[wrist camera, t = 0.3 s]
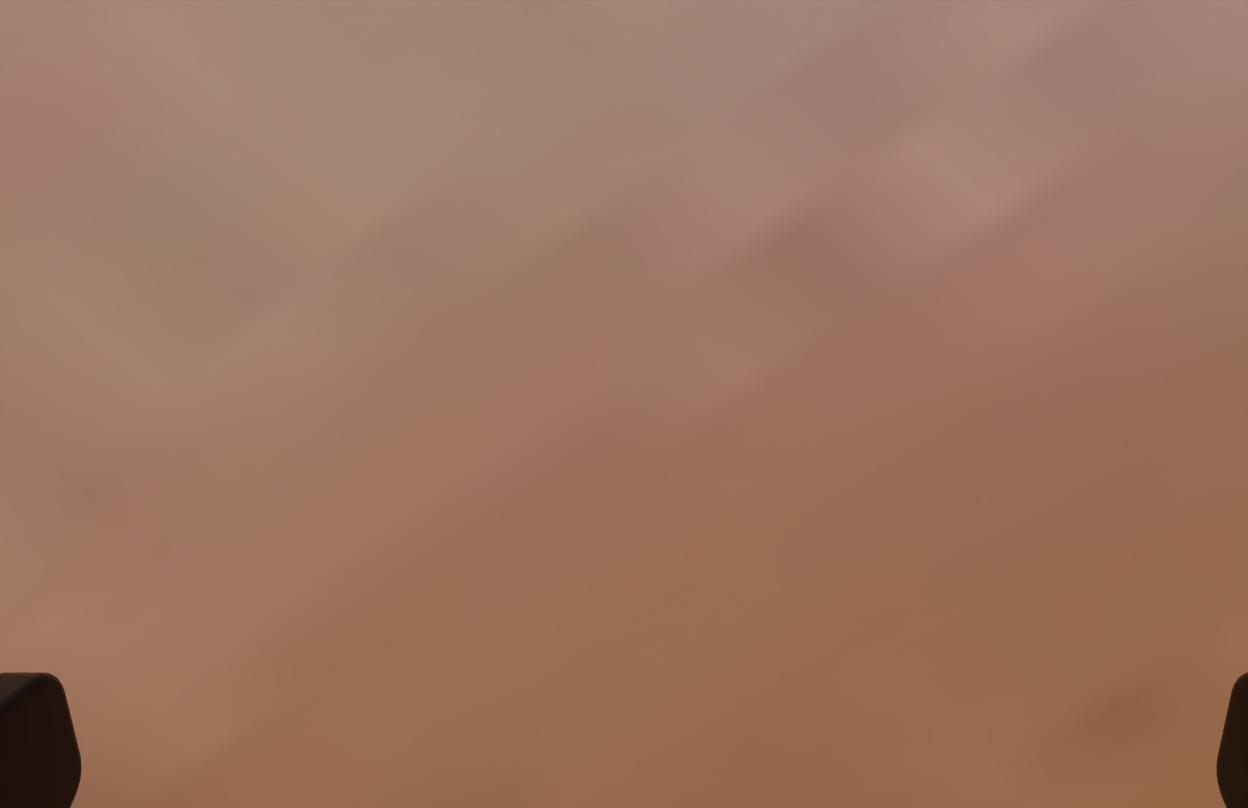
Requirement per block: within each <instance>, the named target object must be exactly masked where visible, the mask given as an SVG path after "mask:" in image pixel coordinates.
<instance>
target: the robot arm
mask: <svg viewBox="0 0 1248 808" xmlns="http://www.w3.org/2000/svg"><path fill="white" fill-rule="evenodd" d="M80 778H81V757H80V752H79V748H78V744H77V740H76V736H75V732H74V727H73V723H72V719H71V715H70V711H69V707H68V703H67V699H66V695H65V691H64V688H63V686H62V684H61V682H60V681H59V679H58V678H57V677H55V676H53V675H52V674H50V673H1V674H0V808H70V807H71V805H72V803H73V800H74V798H75V796H76V793H77V790H78V787H79V783H80ZM1217 780H1218V785H1219V789H1220V793H1221V795H1222V798H1223V801H1224V803H1225V805H1226V808H1248V672H1247V673H1245V674H1243V675H1242V676H1240V677H1239V678H1238V679H1237V681H1236V682H1235V684H1234V686H1233V689H1232V692H1231V697H1230V701H1229V706H1228V711H1227V715H1226V720H1225V725H1224V729H1223V734H1222V739H1221V743H1220V748H1219V752H1218V757H1217Z"/></svg>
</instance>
